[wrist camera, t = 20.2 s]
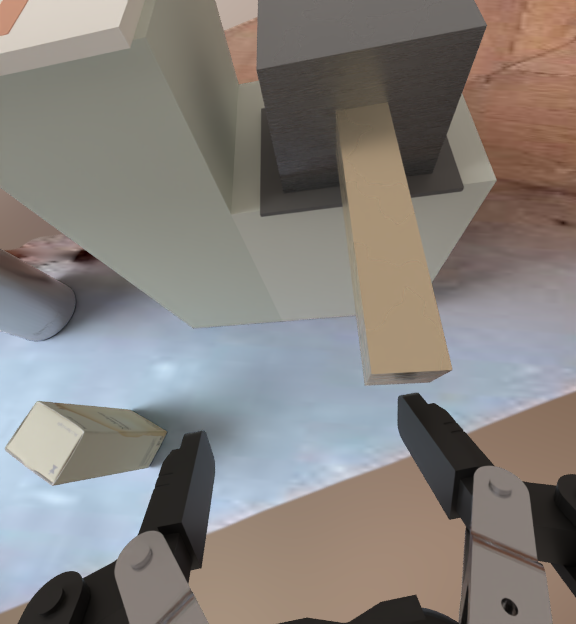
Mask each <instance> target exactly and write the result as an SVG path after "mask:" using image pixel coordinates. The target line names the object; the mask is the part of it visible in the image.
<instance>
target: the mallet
mask: <svg viewBox="0 0 576 624" xmlns="http://www.w3.org/2000/svg"><path fill="white" fill-rule="evenodd" d="M486 26H487V24H486V22H485V21H484V19H483V17H482V15H481V13H480V11H479V9H478V7H477V5H476V3H475V1H474V0H258V28H257V74H258V79H259V83H260V88H261V92H262V97H263V101H264V106H265V110H266V115H267V120H268V124H269V129H270V133H271V138H272V142H273V147H274V151H275V156H276V160H277V165H278V170H279V174H280V179H281V183H282V188H283V192H284V194H285V193H292V192H299V191H307V190H314V189H321V188H329V187H336V186H340V190H341V198H342V206H343V214H344V222H345V230H346V238H347V246H348V254H349V262H350V270H351V278H352V287H353V295H354V303H355V311H356V319H357V327H358V335H359V343H360V351H361V359H362V367H363V375H364V383H365V386H367V385H387V384H407V383H427V382H431V381H433V380H435V379H437V378H439V377H440V376H442V375H444V374H446V373H448V372H450V371H451V370H452V365H451V361H450V357H449V353H448V349H447V345H446V341H445V337H444V332H443V328H442V324H441V320H440V316H439V312H438V308H437V303H436V299H435V295H434V291H433V287H432V283H431V279H430V274H429V270H428V266H427V262H426V258H425V254H424V250H423V246H422V241H421V237H420V233H419V229H418V225H417V221H416V217H415V212H414V208H413V204H412V200H411V196H410V192H409V188H408V183H407V179H406V177H409V176H417V175H424V174H431V173H433V170H434V168H435V165H436V162H437V159H438V157H439V154H440V151H441V149H442V146H443V143H444V140H445V138H446V135H447V132H448V130H449V127H450V124H451V121H452V119H453V116H454V113H455V111H456V108H457V105H458V102H459V100H460V97H461V94H462V92H463V89H464V86H465V83H466V81H467V78H468V75H469V73H470V70H471V67H472V64H473V62H474V59H475V56H476V54H477V51H478V48H479V45H480V43H481V40H482V37H483V35H484V32H485V29H486Z"/></svg>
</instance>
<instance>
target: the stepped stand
mask: <svg viewBox="0 0 576 624" xmlns="http://www.w3.org/2000/svg"><path fill="white" fill-rule="evenodd" d="M406 179H407V183H408V188H409V192H410V196H411V200H412V204H413V208H414V212H415V217H416V221H417V225H418V229H419V233H420V237H421V241H422V246H423V250H424V254H425V258H426V262H427V266H428V270H429V274H430V279H431V283H432V282H433V280H434V278H435V277H436V275H437V274H438V272H439V271H440V269H441V267H442V266H443V264H444V263H445V261H446V259H447V258H448V256H449V255H450V253H451V252H452V250H453V248H454V247H455V245H456V244H457V242H458V240H459V239H460V237H461V236H462V234H463V233H464V231H465V229H466V228H467V226H468V225H469V223H470V221H471V220H472V218H473V217H474V215H475V214H476V212H477V210H478V209H479V207H480V206H481V204H482V202H483V201H484V199H485V198H486V196H487V195H488V193H489V191H490V190H491V188H492V187H493V185H494V184H495V182H496V177H495V175H494V172H493V170H492V167H491V165H490V162H489V160H488V157H487V155H486V152H485V150H484V147H483V145H482V142H481V140H480V137H479V135H478V132H477V130H476V127H475V125H474V122H473V119H472V117H471V114H470V112H469V109H468V107H467V104H466V102H465V99H464V97H463V94H461V97H460V100H459V102H458V105H457V108H456V111H455V113H454V116H453V119H452V121H451V124H450V127H449V130H448V132H447V135H446V138H445V140H444V143H443V146H442V149H441V151H440V154H439V157H438V159H437V162H436V165H435V168H434V170H433V173H431V174H424V175H417V176H409V177H406ZM0 188H1V189H3V190H4V191H6V192H7V193H8V194H10V195H11V196H13V197H14V198H15V199H16V200H18V201H19V202H21V203H22V204H23V205H25V206H26V207H27V208H29V209H30V210H32V211H33V212H34V213H36V214H37V215H38V216H40V217H41V218H43V219H44V220H45V221H47V222H48V223H49V224H51V225H52V226H54V227H55V228H56V229H58V230H59V231H60V232H62V233H63V234H64V235H66V236H67V237H68V238H70V239H71V240H73V241H74V242H75V243H77V244H78V245H79V246H81V247H82V248H84V249H85V250H86V251H88V252H89V253H90V254H92V255H93V256H95V257H96V258H97V259H99V260H100V261H101V262H103V263H104V264H105V265H107V266H108V267H110V268H111V269H112V270H114V271H115V272H116V273H118V274H119V275H121V276H122V277H123V278H125V279H126V280H127V281H129V282H130V283H131V284H133V285H134V286H136V287H137V288H138V289H140V290H141V291H142V292H144V293H145V294H147V295H148V296H149V297H151V298H152V299H153V300H155V301H156V302H157V303H159V304H160V305H162V306H163V307H164V308H166V309H167V310H168V311H170V312H171V313H173V314H174V315H175V316H177V317H178V318H179V319H181V320H182V321H183V322H185V323H186V324H188V325H189V326H190V327H192V328H193V329H194V328H206V327H219V326H231V325H244V324H256V323H269V322H281V321H294V320H306V319H319V318H331V317H344V316H356V311H355V303H354V295H353V287H352V278H351V270H350V262H349V254H348V246H347V238H346V230H345V222H344V214H343V206H342V198H341V190H340V186H336V187H329V188H321V189H314V190H307V191H299V192H292V193H285V194H284V192H283V188H282V183H281V179H280V174H279V170H278V165H277V160H276V156H275V151H274V147H273V142H272V138H271V133H270V129H269V124H268V120H267V115H266V110H265V106H264V101H263V97H262V92H261V88H260V83H259V81H255V82H250V83H244V84H238V80H237V77H236V73H235V69H234V66H233V62H232V59H231V55H230V52H229V48H228V45H227V41H226V37H225V34H224V30H223V27H222V23H221V20H220V16H219V12H218V9H217V5H216V2H215V0H0Z"/></svg>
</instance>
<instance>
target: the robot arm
mask: <svg viewBox="0 0 576 624" xmlns="http://www.w3.org/2000/svg"><path fill="white" fill-rule="evenodd" d="M75 303H76V299H75V294H74V292H73V290H72V289H71V288H70V287H69V286H67V285H65V284H63V283H62V282H60V281H58V280H56V279H54V278H53V277H51V276H49V275H47V274H45V273H44V272H42V271H40V270H38V269H36V268H35V267H33V266H31V265H29V264H27V263H25V262H24V261H22V260H20V259H18V258H16V257H14V256H13V255H11V254H9V253H7V252H5V251H4V250H2V249H0V332H3V333H7V334H10V335H13V336H17V337H20V338H23V339H26V340H30V341H41V340H45V339H48V338H50V337H52V336H53V335H55V334H56V333H58V332H59V331H60V330H61V329H62V328H63V327H64V326H65V325H66V324H67V323H68V321H69V320H70V318H71V316H72V314H73V312H74V309H75ZM398 430H399V433H400V436H401V438H402V440H403V442H404V444H405V445H406V447H407V449H408V450H409V452H410V454H411V456H412V457H413V459H414V460H415V462H416V464H417V466H418V467H419V469H420V471H421V472H422V474H423V476H424V477H425V479H426V481H427V483H428V484H429V486H430V488H431V489H432V491H433V493H434V494H435V496H436V498H437V500H438V501H439V503H440V505H441V506H442V508H443V510H444V511H445V513H446V515H447V516H448V518H449V519H450V520H451V519H456V518H461V519H462V521H463V522H464V524H465V525H466V530H465V545H464V561H463V577H462V591H461V601H460V611H459V623H458V622H457V621H455V620H453V619H451V618H450V617H448V616H446V615H444V614H441V613H439V612H437V611H433V610H430V609H427V608H421V606H420V603H419V601H418V598H417V596H416V595H412V596H407V597H402V598H398V599H393V600H388V601H384V602H380V603H379V604H377V605H375V606H374V607H372V608H371V609H369V610H367V611H366V612H364V613H363V614H361V615H360V616H358V617H356V618H355V619H353V620H352V621H350V622H348V623H339V622H333V621H326V620H319V619H312V618H303V619H298V620H293V621H288V622H284V623H279V624H553V623H552V615H551V608H550V601H549V594H548V586H547V579H546V573H545V569H544V567H543V565H542V564H541V563H538V561H543V562H548V563H551V564H552V566H553V567H554V568H555V570H556V571H557V573H558V574H559V575H560V577H561V578H562V579H563V581H564V582H565V583H566V585H567V586H568V587H569V589H570V590H571V592H572V593H573V594H574V595H575V597H576V475H575V474H570V475H564V476H562V477H560V479H559V480H558V482H557V486H554V485H546V484H536V483H529V482H523V481H521V480H520V479H519V478H518V477H517V476H515V475H514V474H512V473H511V472H509V471H507V470H505V469H502V468H500V467H496V466H494V465H493V464H492V462H491V461H490V460H489V459H488V458H487V457H486V456H485V454H484V453H483V452H482V451H481V450H480V449H479V448H478V447H477V445H476V444H475V443H474V442H473V441H472V440H471V438H470V437H469V436H468V435H467V434H466V433H465V432H463V429H462V428H461V427H460V426H459V425H458V423H456V422H455V420H454V419H453V418H452V417H451V415H450V414H449V413H448V412H447V411H446V410H444V409H443V408H441V407H439V406H438V405H436V404H435V403H432V404H427V403H426V401H425V400H424V399H423V398H422V396H421V395H420V394H419V393H412V394H406V395H401V396H399V397H398ZM214 477H215V461H214V456H213V453H212V450H211V447H210V444H209V441H208V438H207V435H206V432H205V431H198V432H193V433H187V434H185V435H184V437H183V440H182V444H181V447H180V449H176V450H172V451H171V452H170V454H169V455H168V456H167V458H166V459H165V460H164V462H163V464H162V467H161V470H160V473H159V478H158V479H157V482H156V484H155V489H154V490H153V493H152V496H151V499H150V502H149V505H148V508H147V511H146V514H145V517H144V520H143V523H142V525H141V528H140V531H139V534H138V536H136V537H135V538H134V539H132V540H131V541H130V542H129V543H128V544H127V545H126V546H125V548H124V549H123V550H122V552H121V553H120V555H119V557H118V559H117V560H116V561H114V562H113V563H111V564H109V565H107V566H105V567H103V568H102V569H100V570H98V571H96V572H94V573H92V574H90V575H88V576H86V577H85V578H82V577H81V575H80V574H79V573H77V572H75V571H69V572H65V573H62V574H60V575H58V576H56V577H54V578H53V579H51V580H50V581H49V582H47V583H46V584H45V585H44V586H43V587H42V588H41V589H40V590H39V591H38V592H37V593H36V594H35V595H34V596H33V598H32V599H31V601H30V602H29V603H28V605H27V607H26V609H25V611H24V612H23V614H22V616H21V618H20V620H19V622H18V624H209V623H208V621H207V619H206V617H205V615H204V613H203V611H202V609H201V608H200V606H199V604H198V602H197V600H196V598H195V596H194V594H193V592H192V591H191V589H190V587H189V585H188V582H189V577H190V571H191V570H194V569H199V568H201V567H202V560H203V553H204V547H205V539H206V533H207V526H208V519H209V512H210V505H211V498H212V491H213V484H214Z"/></svg>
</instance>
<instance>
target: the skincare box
mask: <svg viewBox="0 0 576 624" xmlns="http://www.w3.org/2000/svg"><path fill="white" fill-rule="evenodd" d="M166 433H167V431H165V430H164V429H162V428H160V427H159V426H157V425H156V424H154V423H152V422H151V421H149V420H147V419H145V418H144V417H142V416H140V415H139V414H137V413H135V412H133V411H131V410H127V409H117V408H107V407H96V406H85V405H74V404H64V403H53V402H42V401H37V402H36V403H35V405H34V406H33V407H32V409H31V410H30V412H29V413H28V415H27V416H26V417H25V419H24V420H23V422H22V423H21V425H20V426H19V427H18V429H17V430H16V432H15V433H14V435H13V436H12V438H11V439H10V441H9V442H8V444H7V445H6V447H5V450H6V451H7V452H8V453H9V454H11V455H12V456H13V457H14V458H16V459H17V460H18V461H19V462H21V463H22V464H23V465H24V466H25V467H27V468H28V469H30V470H31V471H32V472H34V473H35V474H37V475H38V476H39V477H41V478H42V479H44V480H45V481H46V482H48V483H49V484H50V485H52V486H54V485H59V484H64V483H69V482H75V481H80V480H85V479H91V478H96V477H101V476H106V475H112V474H117V473H123V472H128V471H133V470H139V469H144V468H148V467H149V466H150V464H151V462H152V460H153V458H154V457H155V455H156V453H157V451H158V449H159V447H160V445H161V443H162V441H163V439H164V437H165V435H166Z"/></svg>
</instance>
